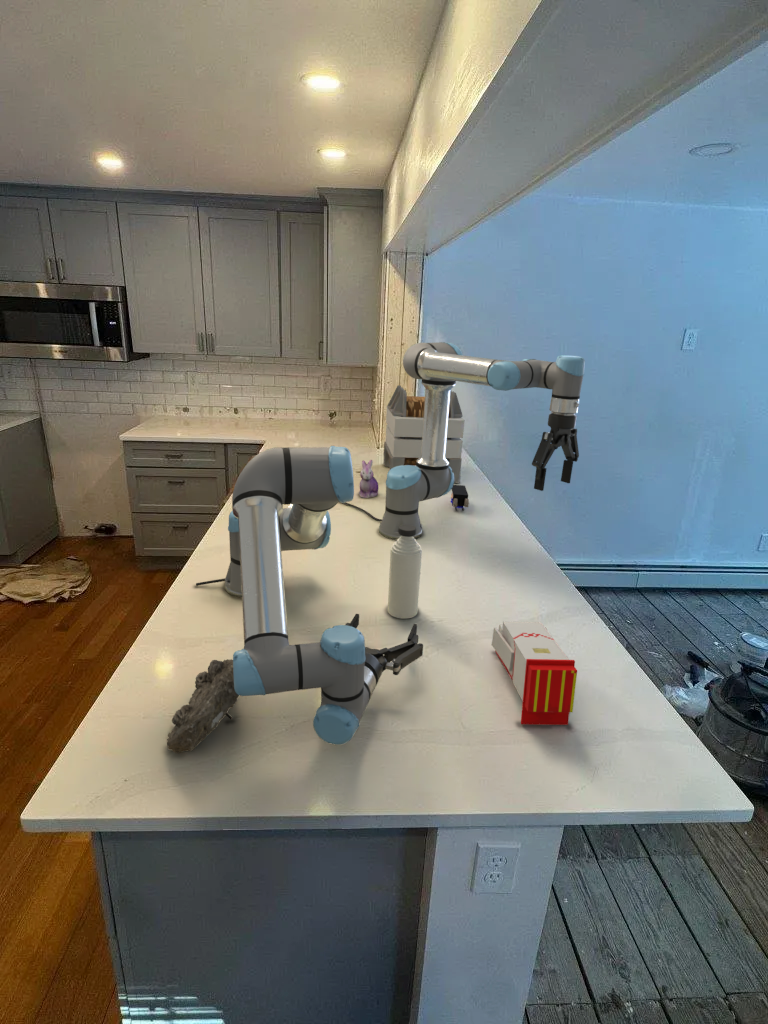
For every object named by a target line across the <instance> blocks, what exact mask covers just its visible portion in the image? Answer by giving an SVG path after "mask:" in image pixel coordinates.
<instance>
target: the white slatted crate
mask: <svg viewBox="0 0 768 1024" xmlns="http://www.w3.org/2000/svg"><path fill="white" fill-rule="evenodd" d="M407 394H408V393H407V390H406V389H404V388H403V387H402V385H399V384H398V385H397V386H396V388H395V390H394V392H393V394H392V395H391V398H390V400H389V402H388V404H387V405H386V413H385V414H386V415H385V423H386V428H385V438H384V442H383V466H384V467H388V468H389V470H390V469H392V468H394V467H396V466H401V465H404V466H405V465H413V466H416V461H417V459H418V458H420V457H421V449H422V434H423V419H424V404H425V396H415V395H414V396H413V395H412V396H411V395H407ZM464 429H465V419H464V418H463V411H462V408H461V405H460V402H459V398H458V395H457V392H455V391H453V390H451V392H450V404H449V416H448V428H447V441H446V453H445V458H446V459H447V461H448V462H449V466H450V467H451V469H452V473H454V484H455V483H456V484H459V483H461V472H462V461H463V460H462V453H463V442H464V441H463V440H462V439H463V438H464V431H465V430H464Z"/></svg>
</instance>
